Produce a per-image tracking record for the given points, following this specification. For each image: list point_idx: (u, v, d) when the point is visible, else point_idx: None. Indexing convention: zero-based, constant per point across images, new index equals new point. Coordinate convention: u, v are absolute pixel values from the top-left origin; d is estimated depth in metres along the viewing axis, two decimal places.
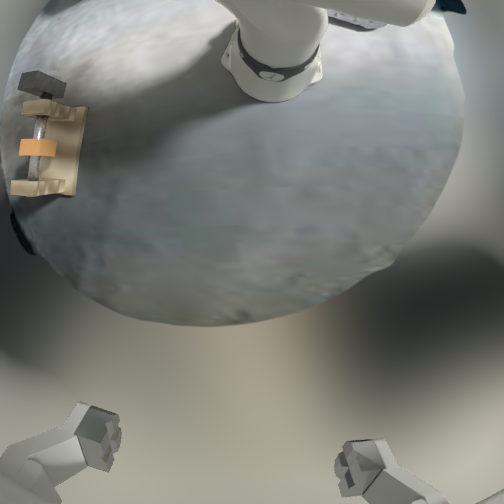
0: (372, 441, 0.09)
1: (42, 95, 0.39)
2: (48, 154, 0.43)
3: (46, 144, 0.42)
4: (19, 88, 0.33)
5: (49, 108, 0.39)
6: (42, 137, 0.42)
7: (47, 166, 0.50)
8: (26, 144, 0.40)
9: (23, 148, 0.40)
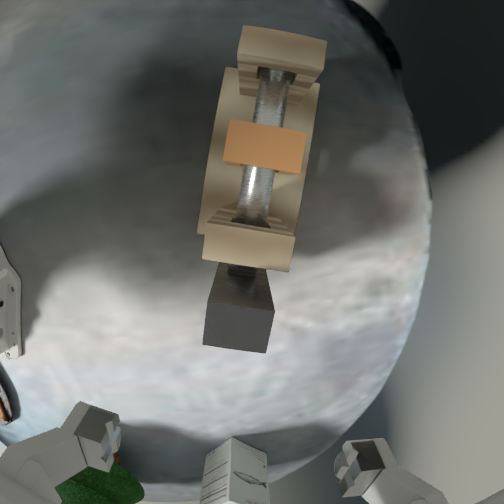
0: (372, 441, 0.09)
1: (245, 274, 0.23)
2: None
3: None
4: (267, 312, 0.18)
5: None
6: (244, 168, 0.22)
7: (289, 126, 0.29)
8: (277, 154, 0.20)
9: (288, 146, 0.20)
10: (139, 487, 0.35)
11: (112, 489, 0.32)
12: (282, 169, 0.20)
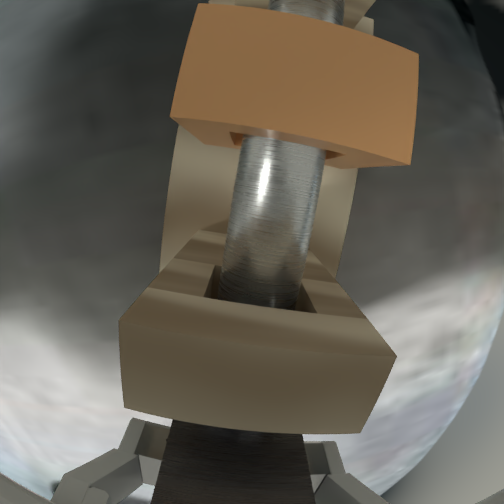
0: (321, 443, 0.08)
1: None
2: None
3: None
4: None
5: None
6: (242, 142, 0.08)
7: None
8: (345, 100, 0.06)
9: (377, 81, 0.06)
10: None
11: None
12: (363, 147, 0.06)
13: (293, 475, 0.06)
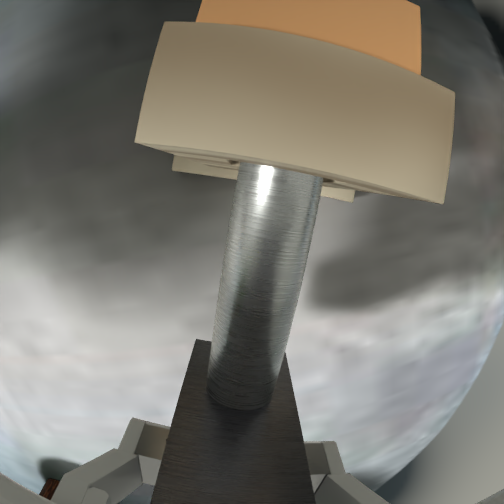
0: (321, 443, 0.08)
1: (246, 406, 0.09)
2: None
3: None
4: None
5: None
6: None
7: None
8: (355, 36, 0.05)
9: (383, 24, 0.05)
10: None
11: None
12: None
13: (293, 475, 0.06)
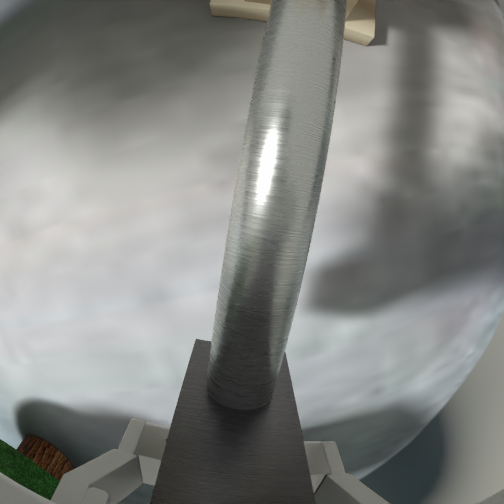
0: (321, 444, 0.08)
1: (245, 406, 0.09)
2: None
3: None
4: None
5: None
6: (243, 141, 0.08)
7: None
8: None
9: None
10: None
11: None
12: None
13: (293, 475, 0.06)
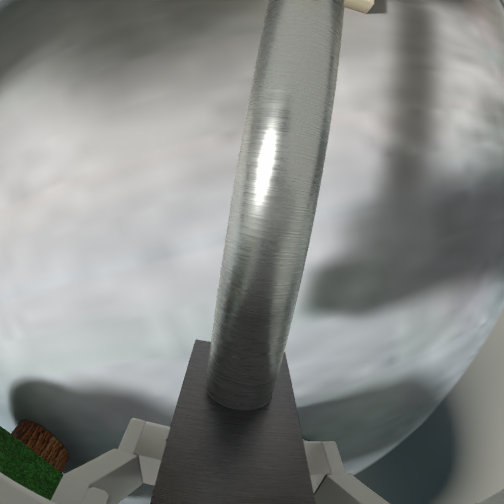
0: (321, 444, 0.08)
1: (245, 407, 0.09)
2: None
3: None
4: None
5: None
6: (241, 141, 0.08)
7: None
8: None
9: None
10: None
11: None
12: None
13: (293, 475, 0.06)
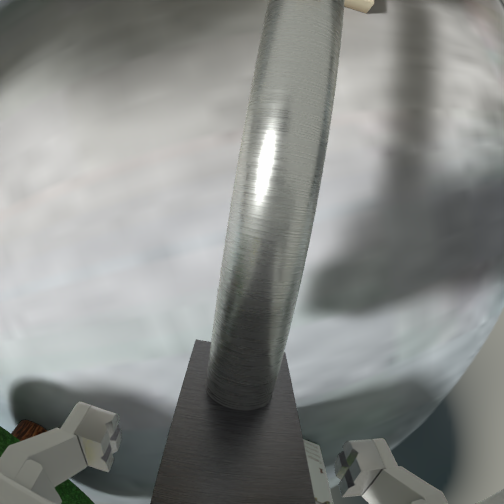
0: (372, 441, 0.09)
1: (245, 407, 0.09)
2: None
3: None
4: None
5: None
6: (241, 141, 0.08)
7: None
8: None
9: None
10: None
11: None
12: None
13: (293, 475, 0.06)
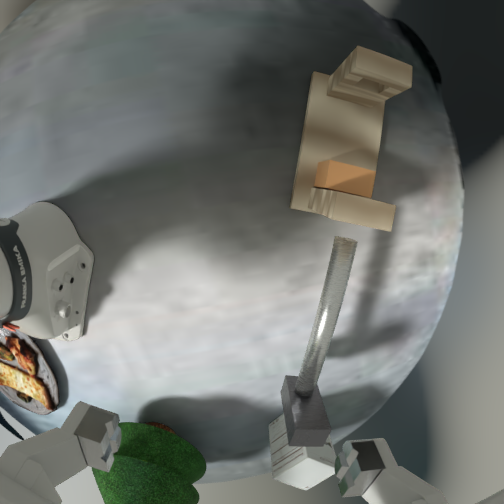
0: (372, 441, 0.09)
1: (307, 395, 0.33)
2: (322, 163, 0.33)
3: (322, 178, 0.32)
4: (327, 430, 0.28)
5: (330, 201, 0.27)
6: (311, 334, 0.32)
7: (364, 124, 0.34)
8: (358, 185, 0.31)
9: (365, 180, 0.31)
10: (203, 463, 0.41)
11: (179, 467, 0.37)
12: (361, 194, 0.31)
13: (321, 411, 0.31)
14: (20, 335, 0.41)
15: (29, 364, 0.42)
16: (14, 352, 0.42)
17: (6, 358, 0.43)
